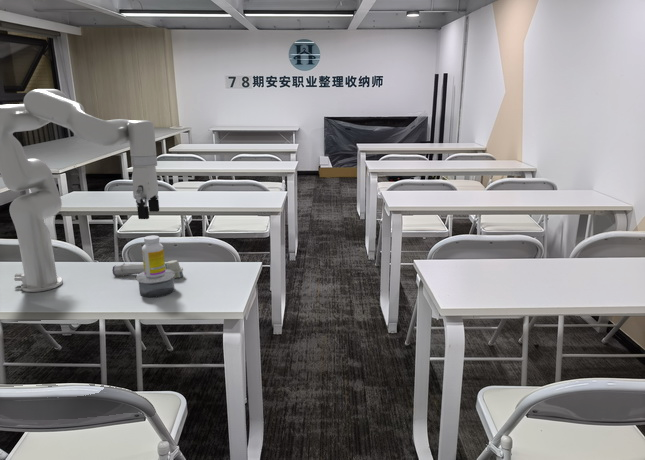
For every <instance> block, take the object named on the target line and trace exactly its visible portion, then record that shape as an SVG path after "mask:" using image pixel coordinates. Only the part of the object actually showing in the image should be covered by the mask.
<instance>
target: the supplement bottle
mask: <svg viewBox="0 0 645 460" xmlns="http://www.w3.org/2000/svg"><path fill="white" fill-rule="evenodd" d="M143 241H144V245H143V246H141V254H142V264H143V265H144V274H145V276H146V277H149V278H156V277H160V276H163V275H164V274H165V262H166V261H165V250H164V245H163V244H162V243H161V242H160V236H158V235H147V236H145V237H143Z"/></svg>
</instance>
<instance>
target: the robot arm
mask: <svg viewBox="0 0 645 460" xmlns="http://www.w3.org/2000/svg"><path fill="white" fill-rule="evenodd" d="M49 123H53V124H56V125H58V126H61V127H63V128H66V129H69V130H70V131H71V132H72V133H73V134H74V135H76V136H77V137H78V138H80V139H83V140H85V141H88V142H90V143H94V144H96V145H99V146H102V147H114V146H119V145H125V144H129V152H130V154H129V155H130V161H131V162H130V163H131V167H132V194H133V199H135V203H136V208H137V217H138V220H149V219H150V213H152V212H153V213H155V212H160V204H159V203H160V202H159V194H158V193H159V185H158V184H159V183H158V181H159V180H158V173H157V168H156V167H157V166H158V158H157V157H158V156H157V147H156V146H157V145H156V135H155V134H156V133H155V126H154V122H153V121H151V120H142V119H141V120H132V119H131V120H130V119H124V118H118V119H110V120H108V119H107V120H105V119H101V118H97V117H96V116H93V115H90V114H88V113H87V112H85V107H84V105H82V103H80V102H78V101H74V100H72V99H70V98H69V97H68V96H67V95H66V94H65V93H64V92H63V91H61V90H59V89H55V88H37V89H32V90H30V91H28V92H27V93H26V94H25V96H24V97H23V103H19V104H18V103H17V104H13V103H12V104H10V103H9V104H0V176H1V178H2V179H1V180H2V181H3V183H4V185H5V187H6V189H8V190H10V191H12V192H23V191H28V190H30V192H29V193H26V194H22V195H19V196H18V197H16V198H15V199H13V200H12V202H11V203H10V205H9V214H10V215H9V216H10V217H11V220H12V223H13V225H14V228H15V231H16V236H17V242H18V245H19V252H20V258H21V264H22V270H23V273H20V272H19V273H15V274H14V279H13V280H14V281H15V282H22V283H21V285H20V289H21V290H22V291H23V292H27V293H37V292H44V291H50V290H53V289H55V288H58V287H59V286H61V285H62V284H63V282H64V281H63V278H62V277H61V276H58V275H57V268H56V261H55V256H54V249H53V243H52V241H53V240H52V235H51V232H50V229H49V227H48V226H47V225H46V223H45V221H44V220H46V219H49V218H51V217H53V216H55V215H57V214H59V213H60V211H61V209H62V205H63V204H62V199H61V198H62V197H61V195H60V192H59V189H58V186H57V184H56V181H55V178H54V174H53V173H52V170H51V168H50V167H49V166H48V164H47V163H46V162H44V161H43V160H41V159H38V158H27V155H26V153H25V150H24V147H23V145H22V143H21V142H20V141H19V140H18V139H17V138H16V137H15V136H14V135H13V134H14V133H17V132H27V131H35V130H38V129H40V128H42V127H44V126H47V124H49Z"/></svg>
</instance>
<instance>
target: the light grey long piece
mask: <svg viewBox="0 0 645 460" xmlns="http://www.w3.org/2000/svg"><path fill="white" fill-rule="evenodd" d="M165 269H169V270H172V271H174V273H175V276H174V277H173V278H174V280H176V278H182V277H183V276H184V273H183V271H184V268H183V267H182V266H180V263H179V260H176V259H175V260H169V261H165ZM142 272H144V265H143V263H128V264H127V263H125V262H124V263H122V264H116V265H114V266H112V274H113V276H115V277H126V276H131V275H138V274H140V273H142Z"/></svg>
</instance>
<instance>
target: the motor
mask: <svg viewBox="0 0 645 460" xmlns="http://www.w3.org/2000/svg"><path fill="white" fill-rule="evenodd" d="M174 276H175V273H174V271H172V270H169V269H165V274H164V275H163V276H160V277H156V278H149V277H146V276H145V274H144V272H142V273H140V274H136V277H135V278H136V281H137V282H138V290H139V295H140V296H142V297H144V298H152V299H153V298H160V297H164V296H167V295H171V294H173V292H174V291H175V279H174V278H173V277H174Z"/></svg>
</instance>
